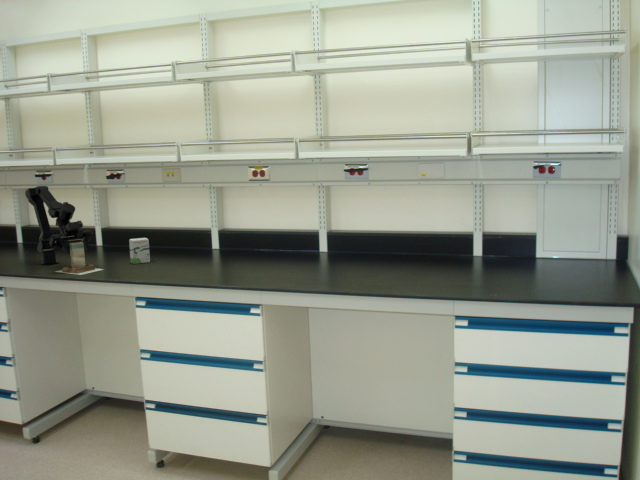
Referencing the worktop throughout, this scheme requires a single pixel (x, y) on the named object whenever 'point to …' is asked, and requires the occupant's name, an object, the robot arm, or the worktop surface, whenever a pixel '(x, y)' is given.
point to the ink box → (139, 250)
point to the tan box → (77, 255)
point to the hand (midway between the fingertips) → (78, 252)
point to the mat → (82, 272)
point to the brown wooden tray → (79, 270)
